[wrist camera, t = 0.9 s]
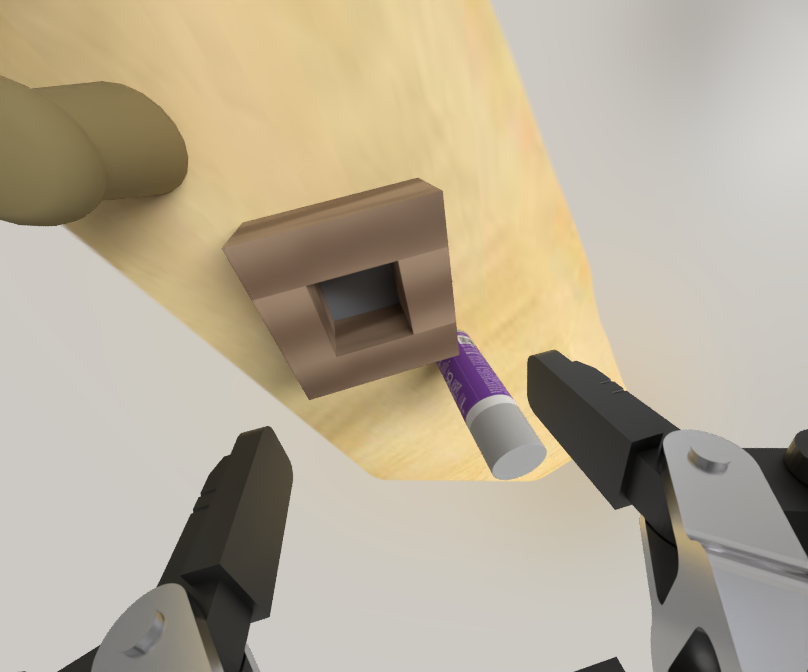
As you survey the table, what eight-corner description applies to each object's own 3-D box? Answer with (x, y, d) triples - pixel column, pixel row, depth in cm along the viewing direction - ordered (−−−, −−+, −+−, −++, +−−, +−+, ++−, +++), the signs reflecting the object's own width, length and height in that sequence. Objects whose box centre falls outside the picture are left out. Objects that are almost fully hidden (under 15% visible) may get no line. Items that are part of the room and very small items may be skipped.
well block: (242, 222, 23) (221, 248, 18) (418, 177, 24) (442, 190, 19) (311, 358, 31) (309, 400, 26) (438, 320, 32) (459, 354, 27)
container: (425, 341, 33) (484, 461, 21) (464, 322, 33) (545, 434, 21) (439, 368, 36) (497, 488, 24) (474, 351, 36) (551, 464, 24)
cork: (47, 134, 18) (-215, 143, 9) (102, 52, 17) (-140, -28, 8) (155, 214, 21) (39, 276, 13) (208, 151, 20) (120, 172, 11)
